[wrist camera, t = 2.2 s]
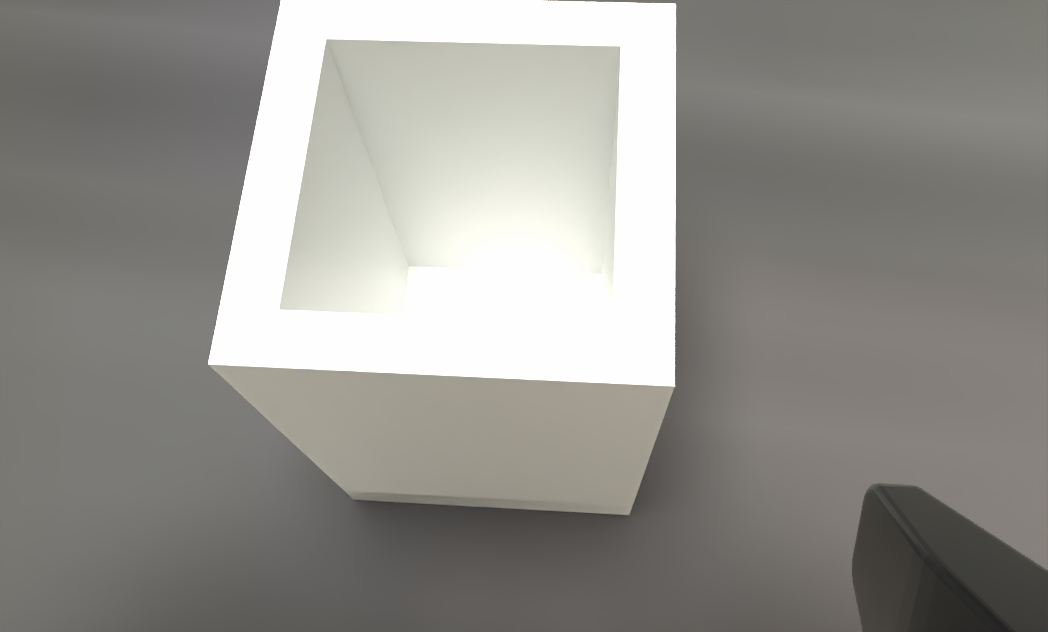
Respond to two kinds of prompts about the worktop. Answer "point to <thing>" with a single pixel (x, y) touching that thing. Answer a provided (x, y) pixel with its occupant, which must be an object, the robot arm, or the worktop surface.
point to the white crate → (461, 249)
